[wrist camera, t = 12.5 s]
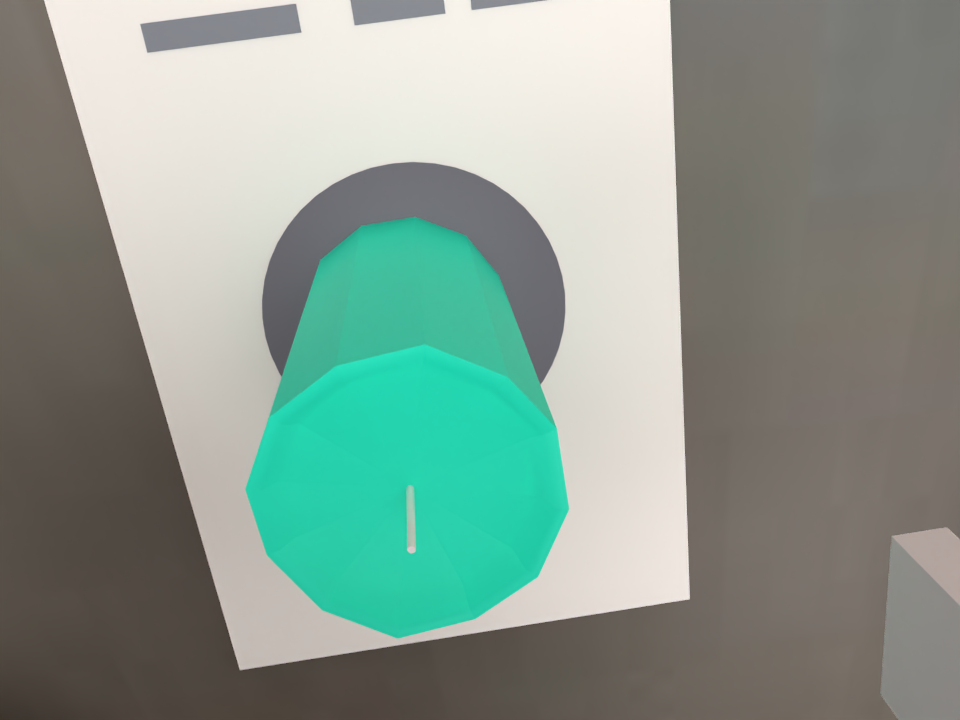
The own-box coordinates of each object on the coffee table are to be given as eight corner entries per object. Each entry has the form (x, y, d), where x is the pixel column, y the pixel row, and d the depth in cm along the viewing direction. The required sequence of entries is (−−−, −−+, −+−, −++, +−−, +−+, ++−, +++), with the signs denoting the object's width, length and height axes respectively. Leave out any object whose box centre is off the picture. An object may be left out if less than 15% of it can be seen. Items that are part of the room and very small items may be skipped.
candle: (494, 413, 27) (560, 693, 16) (300, 400, 26) (226, 685, 15) (518, 226, 25) (615, 399, 14) (308, 207, 24) (229, 371, 13)
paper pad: (685, 590, 31) (690, 600, 30) (242, 660, 30) (239, 671, 30) (658, -180, 22) (664, -185, 21) (22, -101, 21) (12, -104, 21)
